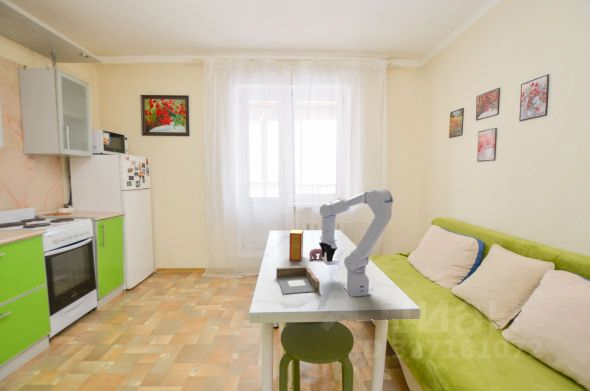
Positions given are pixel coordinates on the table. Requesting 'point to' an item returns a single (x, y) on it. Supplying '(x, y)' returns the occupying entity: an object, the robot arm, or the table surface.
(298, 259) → the baking soda box
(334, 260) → the aluminium bracket
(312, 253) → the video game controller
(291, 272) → the corner walls
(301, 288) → the mat
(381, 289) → the table surface
